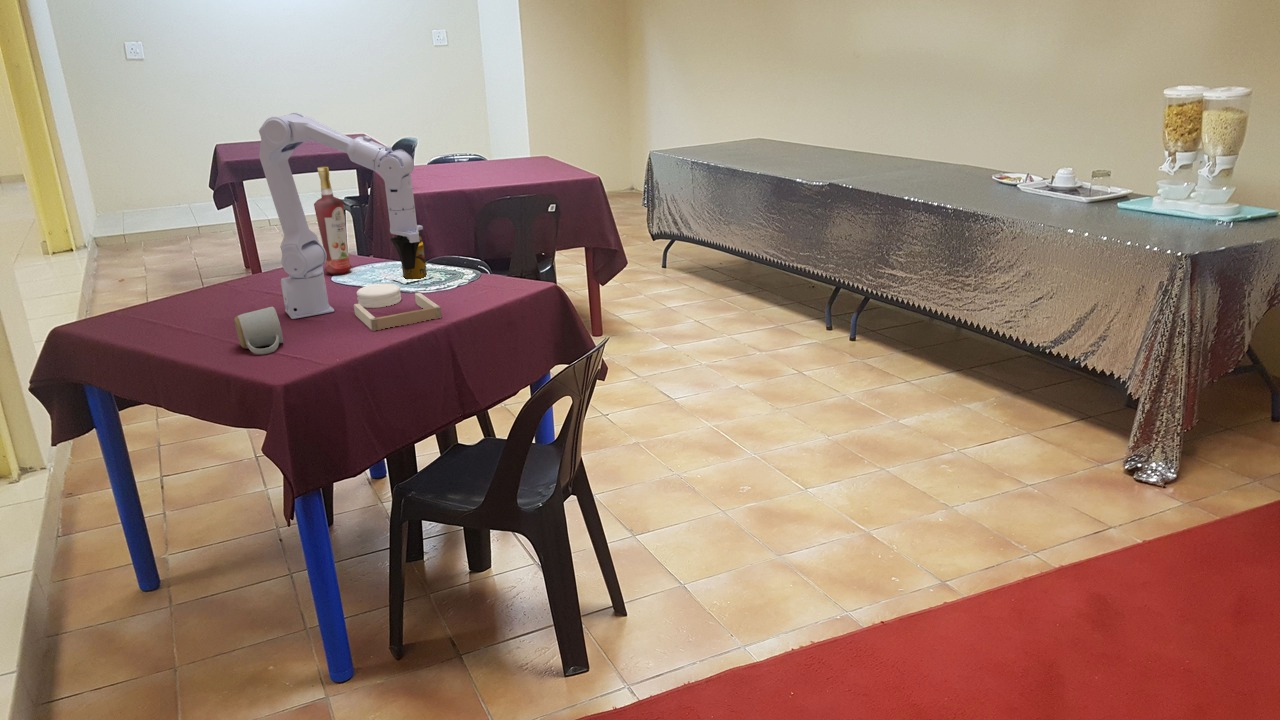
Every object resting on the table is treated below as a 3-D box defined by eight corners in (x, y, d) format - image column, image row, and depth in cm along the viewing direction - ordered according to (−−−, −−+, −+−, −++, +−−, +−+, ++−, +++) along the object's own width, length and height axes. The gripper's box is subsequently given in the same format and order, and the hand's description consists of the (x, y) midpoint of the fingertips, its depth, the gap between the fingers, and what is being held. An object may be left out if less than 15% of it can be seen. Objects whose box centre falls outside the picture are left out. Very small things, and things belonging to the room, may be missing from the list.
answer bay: (373, 331, 192) (371, 320, 191) (355, 314, 204) (353, 304, 203) (442, 318, 199) (440, 307, 199) (420, 302, 211) (419, 292, 210)
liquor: (338, 277, 236) (321, 170, 227) (319, 274, 240) (301, 168, 230) (359, 271, 242) (343, 166, 232) (340, 268, 246) (324, 164, 236)
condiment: (434, 278, 233) (428, 232, 229) (405, 285, 227) (398, 238, 223) (419, 273, 238) (413, 228, 234) (390, 280, 232) (384, 234, 228)
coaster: (351, 308, 210) (348, 294, 208) (369, 296, 219) (367, 282, 218) (391, 309, 208) (389, 294, 207) (408, 297, 217) (406, 283, 216)
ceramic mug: (237, 344, 187) (230, 309, 184) (278, 336, 191) (272, 302, 188) (246, 359, 179) (238, 323, 176) (288, 351, 183) (282, 315, 180)
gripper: (430, 210, 192) (437, 272, 196) (409, 201, 203) (416, 259, 208) (397, 215, 188) (405, 277, 193) (378, 205, 200) (386, 264, 205)
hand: (409, 268), depth 200 cm, fingers closed
